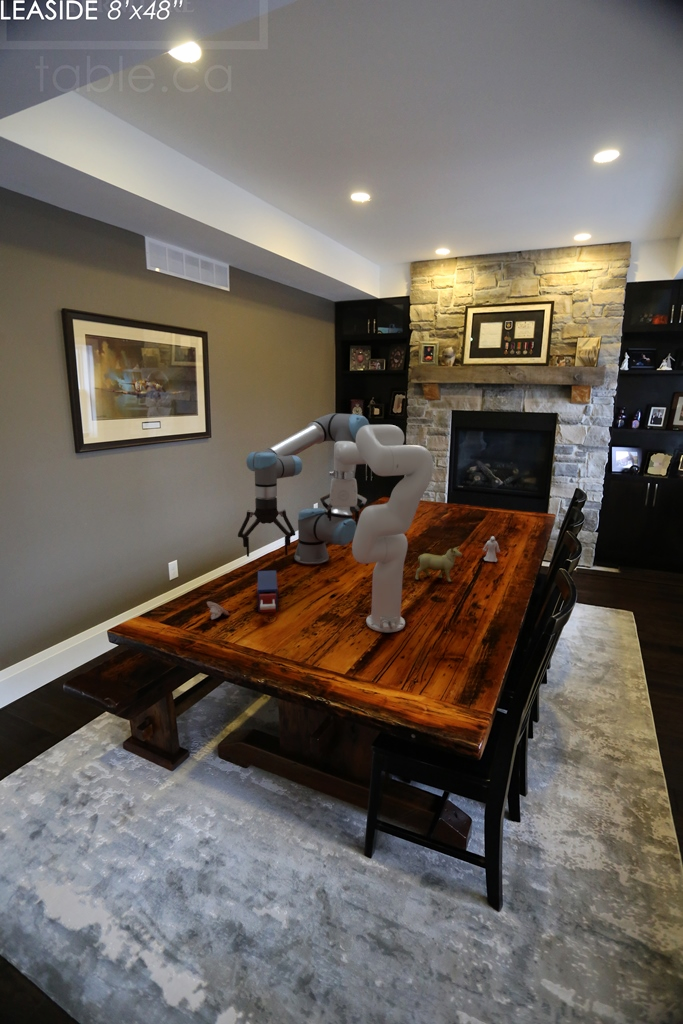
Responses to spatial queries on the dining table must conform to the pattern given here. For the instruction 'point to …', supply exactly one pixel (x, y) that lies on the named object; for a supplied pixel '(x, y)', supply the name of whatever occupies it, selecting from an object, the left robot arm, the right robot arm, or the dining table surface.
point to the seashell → (216, 610)
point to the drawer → (267, 602)
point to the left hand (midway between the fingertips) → (267, 554)
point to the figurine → (491, 550)
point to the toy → (438, 563)
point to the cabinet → (267, 584)
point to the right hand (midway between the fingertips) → (343, 520)
